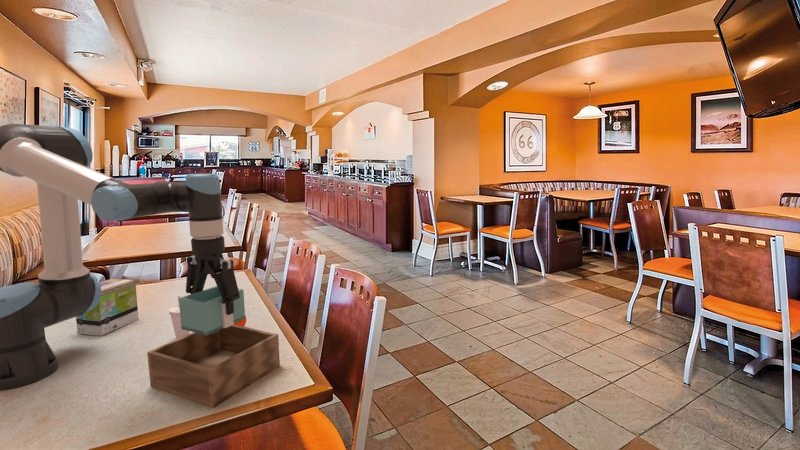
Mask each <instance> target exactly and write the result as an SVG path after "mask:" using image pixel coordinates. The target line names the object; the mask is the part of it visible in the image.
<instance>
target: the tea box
mask: <svg viewBox="0 0 800 450" xmlns="http://www.w3.org/2000/svg"><path fill="white" fill-rule="evenodd" d="M99 283H100V286H101V298H100V301H99V303H98V304H97V306H96V307H95V308H94V309H92V310H91V311H89V312H86V313H84V314H83V315H81V316H78V317H75V321H76V323H75V324H76V332H77V334H80V335H88V336H96V337H97V336H100V337H102V336H104V335H106V334H108V333H110V332H112V331H115V330H117V329H119V328H122V327H123V326H126V325H129V324H131V323H133V322H136V321H138V320H139V310H138V309H139V307H138V295H137V285H136V284H137V283H136V280H135V279H123V278H110V279H106V280H103V281H101V282H100V281H99Z"/></svg>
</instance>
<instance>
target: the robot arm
mask: <svg viewBox="0 0 800 450" xmlns="http://www.w3.org/2000/svg"><path fill="white" fill-rule="evenodd" d="M93 155H94V153H93V149H92V146H91V143H90V141H89V140H88V139H87V137H85V136H84V134H83V133H82V132H80V131H79V130H77V129H74V128H72V127H65V126H59V125H38V124H37V125H36V124H22V123H9V124H8V123H7V124H3V125H0V172H2V173H5V174H7V175H9V176H12V177H15V178H16V177H18V178H19V177H20V178H23V177H25V178H27V179H29V180H30V179H31V180H32V181H34V182H35V183H36V186H37V197H38V208H39V209H38V210H39V220H40V233H41V244H42V254H43V255H42V257H43V267H44V269H43V270H42V271H41V272H39V274H37V278H38V279H37V280H38V284H37V283H36V282H30V281H26V282H18V283H15V284H10V285H5V286H1V287H0V390H7V389H14V388H18V387H22V386H25V385H28V384H31V383H32V384H33V383H35V382H38V381H40V380H43V379H44V378H46V377H48V376H50V375H52V374H53V373H54V372H55V371H57V369H58V368H59V363H58V358H57V355H56V354H55V353H54V351H53V350H52V348H51V346H50V344H48V341H47V339H46V332H45V331H46V330H45V328H48V327H51V326H53V325H56V324H58V323H59V324H60V323H62V322H65V321H68V320H72V319H73V318H76V317H78V316H81V315H83V314H84V313H86V312H89V311H91V310H92V309H94V308H95V307H96V306H97V304H98V303H99V301H100V298H101V286H100V281H98V278H97V277H96V276H95V275H94V274H92V273H91V270H90V269H89V268H88V267H86V266H84V263H83V249H82V248H83V247H82V236H81V222H80V220H81V219H80V218H81V217H80V207H79V204H80V203H79V201H80V202H83V203H85V204H88V205H90V206H91V208H92V211H93V212H94V213H95V214H96V215H97V217H98V218H99V219H101V220H103V221H107V222H113V221H114V222H115V221H118V222H119V221H126V220H129V219H135V218H141V217H147V216H153V215H160V214H166V213H167V214H169V213H182V212H183V213H188V217H189V218H188V219H189V220H188V223H189V235H190V237H192V238H191V240H190V242H191V243H190V244H191V252H192V253H193V254H194V255H191V256H187V257H186V264H187V267H186V268H187V269H186V270H187V271H186V283H185V293H186V294H189V295H190V294H193V293H196V292H199V291H202V290H204V288H205V285H206V281H207V278H208V275H210V277H211V278H212V279H214V282H215V284H216V286H217V287H218V289H219V291H220V294H221V296H222V299H223V302H221V308H222V321H223V328H227V327H229V326H231V325H234V322H233V313H234V304H233V301H234V300H236V299H238V298H240V295H239V291H238V288H239V287H238V283H237V279H236V275H235V270H234V260H233V259H225V258H224V255H223V252H224V251H225V249H226V246H225V244H226V243H225V237H224V236H223V234H224V233H225V232H224V221H223V211H222V208H223V207H222V189H221V183H220V177H219V175H217V174H216V173H190V174H186V175H185V181H166V180H161V181H160V180H157V181H152V182H149V183H126V182H124V181H122V180H119V179H116V178H114V177H112V176H109V175H107V174H105V173H102V172H100V171H97V170H95V169H93V168H90V165H91V164H92V162H93ZM227 295H228V297H227Z"/></svg>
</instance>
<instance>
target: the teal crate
mask: <svg viewBox="0 0 800 450" xmlns="http://www.w3.org/2000/svg"><path fill="white" fill-rule="evenodd" d="M238 291H239V295H240V298H238V299H236V300H234V301H233V304H234V313H233V322H234V323H236V322H239V321H241V320H243V319H245V316H246V311H245V310H246V309H245V308H246V307H245V296H244V295H245V293H244V292H245V291H244V288H239V287H238ZM227 297H228V295H227ZM221 302H223V299H222V296H221V294H220V291H219V289H218V287H217V285H215V286H211V287H209V288H206V289H203V290H202V291H199V292H196V293H193V294H190V293H189V294H188V295H184V296H182V297H181V296H180V298H179V304H178V306H180V317H181V328H182V329H183V330H187V331H190V333H193V332H195V333H199V334H203V335H210V334H212V333H214V332H216V331H219V330H221V329H223V321H222V308H221Z"/></svg>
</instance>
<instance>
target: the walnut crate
mask: <svg viewBox="0 0 800 450" xmlns="http://www.w3.org/2000/svg"><path fill="white" fill-rule="evenodd" d="M279 343H280V342H279V334H277V333H273V332H268V331H264V330H260V329H255V328H252V327H251V328H250V327H247V326H246V327H245V326H244V327H243V326H238V325H231V326H229V327H227V328H223V329H221V330H219V331H216V332H214V333H212V334H210V335H203V334H199V333H195V332H190V334H189V335H186V336H184V337H181V338H179V339H177V340H176V339H175V340H173V341H170V342H168V343H166V344H163V345H160V346H158V347H156V348H153V349H152V350H151V349H150V350H149V351H146V355H147V362H148V372H149V373H148V374H149V383H150V384H149V385H150V387H152V388H155V389H159V390H161V391H164V392H167V393H169V394H173V395H176V396H179V397H180V398H184V399H187V400H189V401H193V402H196V403H198V404H201V405H204V406H206V407H207V406H208V407H210V408H213V409H214V408H216V407H218V406H219V405H220V404H223V403H224V402H225V401H227V400H229V399H230V398H232V397H233V396H235V395H236V394H238V393H240V392H241V391H242V390H244V389H246V388H247V387H249V386H250V385H252V384H254V383H255V382H258V380H260V379H262V378H263V377H265V376H266V375H268V374H270V373H271V372H272V371H274V370H275V369H277V368H279V367H280V366H281V362H280V345H279Z"/></svg>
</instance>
